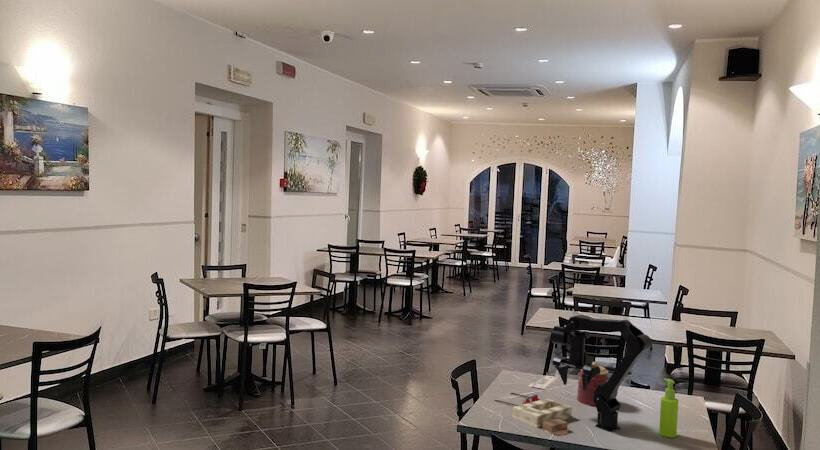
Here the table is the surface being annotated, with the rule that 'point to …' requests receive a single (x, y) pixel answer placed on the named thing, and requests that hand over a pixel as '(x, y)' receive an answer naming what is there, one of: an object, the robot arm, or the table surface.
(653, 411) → the table surface
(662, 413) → the soap dispenser
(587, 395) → the canister
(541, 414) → the cream wooden tray
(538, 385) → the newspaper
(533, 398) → the glasses
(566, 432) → the terracotta coaster
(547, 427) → the walnut slab
